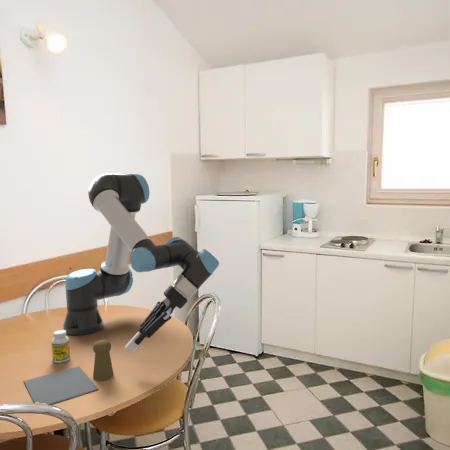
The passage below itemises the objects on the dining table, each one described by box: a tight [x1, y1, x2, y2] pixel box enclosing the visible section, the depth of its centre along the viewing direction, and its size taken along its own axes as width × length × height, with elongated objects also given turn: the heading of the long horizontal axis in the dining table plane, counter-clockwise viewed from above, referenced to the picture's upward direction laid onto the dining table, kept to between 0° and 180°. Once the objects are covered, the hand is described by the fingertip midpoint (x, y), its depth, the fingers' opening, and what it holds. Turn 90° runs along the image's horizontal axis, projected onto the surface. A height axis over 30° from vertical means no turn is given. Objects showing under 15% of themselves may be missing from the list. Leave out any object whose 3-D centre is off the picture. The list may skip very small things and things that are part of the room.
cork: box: [92, 339, 114, 382], centre depth 121 cm, size 6×6×11 cm
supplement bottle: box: [51, 329, 71, 364], centre depth 133 cm, size 5×5×10 cm
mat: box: [23, 365, 99, 405], centre depth 116 cm, size 18×16×1 cm
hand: (128, 350), depth 123 cm, fingers closed
